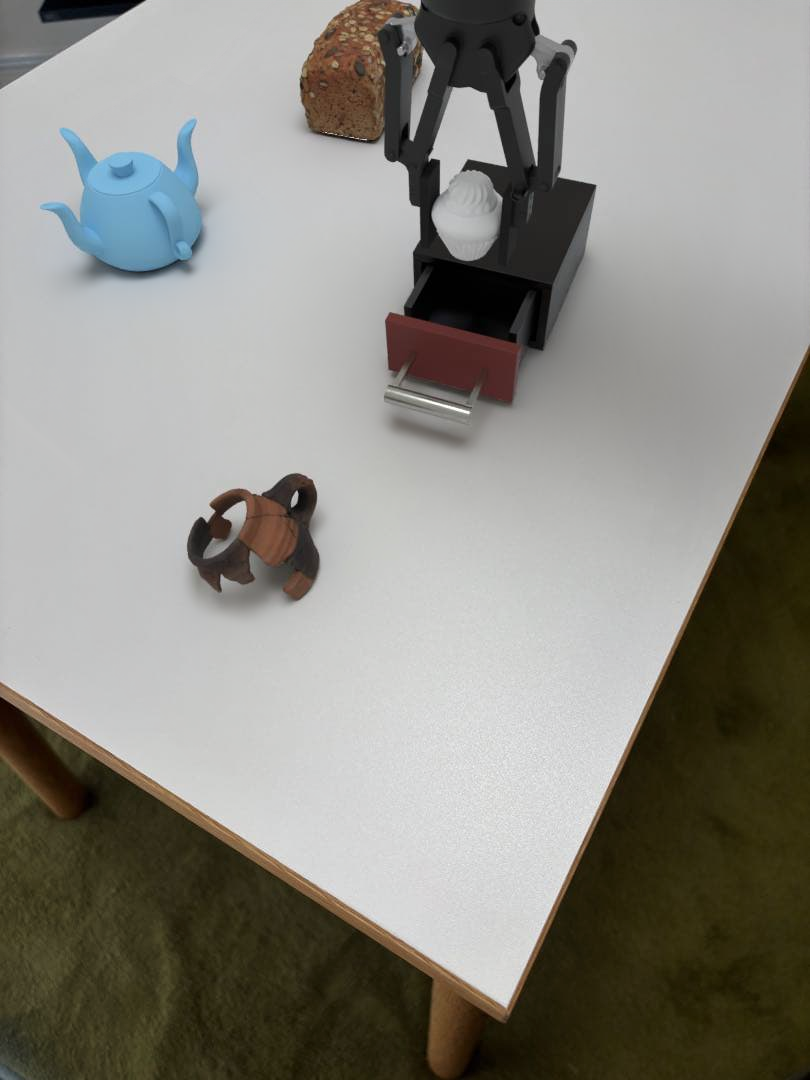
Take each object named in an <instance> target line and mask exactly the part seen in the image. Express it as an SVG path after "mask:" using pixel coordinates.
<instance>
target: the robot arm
mask: <svg viewBox="0 0 810 1080" xmlns="http://www.w3.org/2000/svg"><path fill="white" fill-rule="evenodd" d="M419 5H420V6H419V8H418V9H419V11H418V13H417V15H416V16H411V17H405V16H404V15H403V14H402V13H400V12H395V13H393V14H392V16H391V17H390V18H389V19H388V21H387V22H386V23H385V24H384V26H383V27H382V28H381V30H380V31H379V32H378V41H379V44H380V48H381V51H382V54H383V58H384V61H385V125H384V128H383V129H384V131H383V134H384V136H383V139H384V140H383V155H384V158H385V160H386V161H388V162H389V163H397V162H398V163H400V164H402V165H403V166H404V167H405V168H406V171H407V173H408V174H407V175H408V200H409V203H410V205H411V207H418V208H419V234H420V236H419V237H420V239H419V241H420V245H421V247H422V248H427V249H429V248H430V246H431V244H432V242H433V241H434V239H435V237H436V236H437V234H438V232H437V228H436V227H435V225H434V222H433V220H432V215H431V212H432V207H433V204H434V202H435V201H436V199H437V198H438V197H439V195H440V194H441V159H438V158H432V157H431V158H430V156H431V154H432V153H433V151H434V149H435V147H434V145H435V143H436V140H437V136H438V133H439V130H440V128H441V125H442V121H443V119H444V115H445V113H446V110H447V107H448V104H449V101H450V98H451V95H452V92H453V90H454V88H455V89H456V88H457V89H463V88H471V89H473V90H475V91H477V92H479V93H483V94H486V98H487V102H488V106H489V109H490V110H491V111H493V114H494V117H495V122H496V126H497V129H498V134H499V138H500V142H501V146H502V151H503V155H504V159H505V163H506V167H508V172H509V176H510V182H509V184H508V186H507V188H506V190H505V192H504V194H503V198H502V212H501V225H500V238H499V252H498V265H501V266H505V267H506V266H507V264H508V262H509V260H510V258H511V256H512V254H513V252H514V250H515V248H516V241H517V231H518V228H519V229H524V227H525V226H526V224H527V222H528V220H529V218H530V216H531V213H532V203H533V195H534V192H535V191H540V192H541V193H549V192H550V191H551V190H552V188H553V186H554V184H555V182H556V180H557V178H558V177H560V173H561V171H562V163H563V162H562V161H563V148H564V147H563V146H564V145H563V144H564V129H565V127H564V126H565V112H566V111H565V110H566V94H567V79H568V78H567V77H568V74H569V71H570V69H571V66H572V64H573V62H574V61H575V58H576V56H577V52H578V46H577V44H576V41H574V40H573V39H570V38H569V39H568V38H567V39H564V40H563V41H561V43H558V42H557V41H555V40H552V39H551V38H548V37H547V36H544V35H542V34H541V30H540V29H541V28H540V25H539V23H538V21H537V17H536V0H420V4H419ZM417 37H418V39H419V41H420V42H421V44H422V46H423V47H424V51H425V52H426V54H427V56H428V57H429V59H430V61H431V62H432V64H433V66H434V69H433V72H432V75H431V79H430V80H429V81H430V82H429V85H428V88H427V96H426V99H425V101H424V105H423V108H422V110H421V111H422V112H421V114H420V117H419V120H418V124H417V127H416V131H415V134H414V137H413V140H412V139H411V121H412V119H411V118H412V96H413V95H412V93H413V84H412V75H413V49H414V48H415V46H416V44H417ZM530 56H531V57H533V59H535V62H536V69H535V70H536V74H537V78H538V79H539V80H540V81H542V83H541V87H540V90H539V101H538V107H539V108H538V128H537V129H538V132H537V133H538V134H537V160H536V159H535V154H534V149H533V145H532V140H531V139H532V138H531V137H530V136H531V135H530V130H529V126H528V122H527V117H526V112H525V107H524V102H523V99H522V98H523V97H522V94H521V84H522V82H521V81H522V80H521V74H520V71H519V69H520V68H521V67H522V65H524V64H525V62H526V61H527V60H528V59H529V57H530Z"/></svg>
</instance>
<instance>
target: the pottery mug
mask: <svg viewBox="0 0 810 1080" xmlns="http://www.w3.org/2000/svg"><path fill="white" fill-rule="evenodd" d="M296 492H297V501H296V502H295V504H294V505H293V506H292V500H293V497H294V495H295V494H296ZM242 502H245V506H246V514H245V519H244V522H243V525H242V527H241V529H240V530H239V533H238V534H237V535H236V538H235V539H234V540H233V541H232V542H231V543H230V544H228V546H227V547H226V548H225V549H224V550H222V551H220V552H219V553H218V554H215V555H214V556H211V557H208V558H206V557H205V558H204V555H205V552H206V550H207V548H208V547H209V545H210V543H211V542H212V541H213V539H215V540H226V539H227V538H228V536H229V534H230V532H231V530H232V528H233V523H232V521H231V520H229V519H227V518H225V517H224V514H225V513H226V512H228V511H229V510H230V509H231V508H233V507H234V506H236V505H237V504H239V503H242ZM317 502H318V490H317V488H316V485H315V483H314V480H313V479H312V478H309V477H308V476H307V475H305V474H302V473H301V472H300V473H298V472H294V473H288V474H286V475H285V476H283V477H282V478H280V480H278V482H276V483H275V484H274V485H273V486H272V487H271V488H270V489H268V490H266V491H262V492H261V495H260V494H258V493H252V492H251V491H249V490H248V489H246V488H238V487H237V488H232V489H230V490H226V491H225V492H223V493H221V494H219V495H218V496H216V497H215V498H214V499H213V500H211V502H210V503H209V505H208V506H209V507H210V508H211V509H212V510H214V513H212V515H211V516H210V518H209V519H208V521H207V520H206V519H205V518H204V517H203V516H199V517H198V518H197V519H196V520H195V521H194V523H193V524H192V526H191V529H190V530H189V534H188V537H187V541H186V551H187V558H188V560H189V562H190V563H191V564H192V565H193V566H194V567H197V571H198V574H199V577H200V578H201V579H202V580H204V581H205V582H206V584H208V585H209V586H210V587H211V589H213V590H214V591H216V592H217V593H219V594H220V593H223V588H222V586H221V576H222V577H223V578H224V579H226V580H228V581H230V582H236V583H238V584H240V585H241V586H244V585H249V584H251V583H253V582H255V581H256V577H255V575H254V574H253V572H252V571H251V563H250V557H251V552H253V554H255V555H256V556H257V557H258V558H259V559H260V560H262V562H263V563H264V564H265V565H266V566H270V567H279V566H280V565H281V564H283V563H284V564H285V565H287V566H290V567H292V568H293V570H294V571H293V573H292V575H291V576H290V578H289V580H288V581H287V582H286V583H285V584H284V585H283V586H282V590H283V592H284V594H286V595H288V596H290V597H291V598H293V599H294V600H295V601H298V600H300V599H301V598H302V597H303V596H304V595H305V594H306V593H307V592H308V591H309V589H310V588H311V586H312V584H313V582H314V580H315V578H316V577H317V573H318V571H319V568H320V567H319V566H320V553H319V551H318V548H317V546H316V545H315V542H314V540H313V537H312V535H311V533H310V530H309V528H310V522H311V519H312V517H313V515H314V513H315V510H316V506H317Z"/></svg>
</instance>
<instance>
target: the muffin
mask: <svg viewBox="0 0 810 1080" xmlns="http://www.w3.org/2000/svg"><path fill="white" fill-rule="evenodd" d="M459 173H460V174H459ZM459 173H456V174H455V175H454V176H453V178H452V179H450V180H449V182H448V185H449V186H448V187H447V189H446V190H444V191H443V192H442V193H440V195H439V197H438V198H437V199H436V201H435V202H434V204H433V207H432V212H431V215H432V220H433V222H434V225H435V227H436V228H437V232H438V234H439V236H440V238H441V239H442V241H443V242H444V244H445V245H446V247H447V248H448V250H449V252H450V253H451V254H452V255H453V256H455V258H458V259H461V260H465V261H470V260H471V261H473V260H477V259H480V257H483V256H484V255H485V254H486V253H487V251H488V250H489V249H490V247H491V246H492V245H493V243H494V242H495V240H496V239H497V238H498V236H499V235H500V225H501V212H502V197H501V196H500V195H499V194H498V193H497V192H496V191H495V190H494V189H493V184H492V182H491V180H490V178H489V177H488V176H487V175H485V174H483V173H482V172H480V171H478V172H477V171H476V170H472V171H469V170H467V171H466V172H460V171H459Z"/></svg>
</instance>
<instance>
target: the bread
mask: <svg viewBox="0 0 810 1080" xmlns="http://www.w3.org/2000/svg"><path fill="white" fill-rule="evenodd" d="M419 9H420V8H418V7H417V6H416V5H415V4H412V3H410V2H409V3H408V2H403V1H400V0H359V1H356V2H354V3H353V4H351V5H349V6H345V8H344V9H343V10H340V11H339V13H338V14H336V15H335V16H334V17H333V16H332V19H331V20H330V21H329V22H328V24H327V25H326V27H325V29H324V31H323V32H321V34H320V35H319V37H317V38H315V39H314V41H313V48H312V50H311V52H310V53H309V54H308V55H307V58H306V60H305V61H304V62H303V64H302V66H301V74H300V77H299V78H298V80H299V90H300V93H299V96H300V103H301V105H302V106H303V108H304V110H305V113H304V116H305V118H306V123H307V125H308V128H309V129H312V130H314V131H316V132H318V131H319V132H318V133H320V132H324V133H325V132H327V133H333V134H337V135H343V136H347V137H354V138H359V139H367V140H373V141H374V140H376V139H377V138H380V137H381V135H382V132H383V129H384V125H385V61H384V58H383V54H382V51H381V48H380V44H379V41H378V32H379V31H380V30H381V28H382V27H383V26H384V24H385V23H386V22H387V21H388V19H389V18H390V17H391V16H392V14H393V13H395V12H400V13H402V14H403V15H404V16H405V17H411V16H416V15H417V13H418V11H419ZM424 51H425V49H424V47H423V46H422V44H421V42H420V41H419V39H418V37H417V44H416V46H415V48H414V49H413V75H412V85H413V84H414V83H415V81H416V78H417V76H418V75H419V74H420V71H421V69H422V68H421V67H422V66H423V55H424V53H423V52H424ZM417 74H418V75H417ZM324 133H323V134H324ZM379 136H380V137H379Z"/></svg>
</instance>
